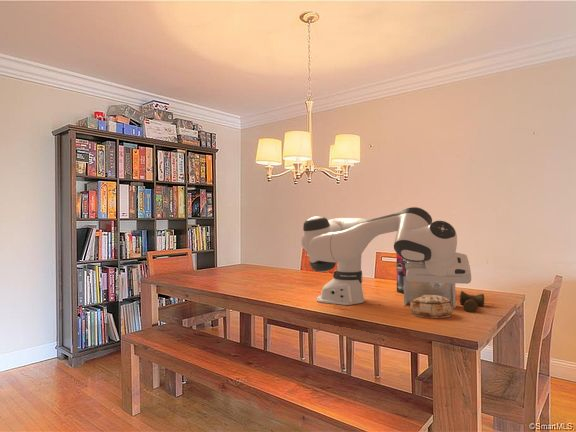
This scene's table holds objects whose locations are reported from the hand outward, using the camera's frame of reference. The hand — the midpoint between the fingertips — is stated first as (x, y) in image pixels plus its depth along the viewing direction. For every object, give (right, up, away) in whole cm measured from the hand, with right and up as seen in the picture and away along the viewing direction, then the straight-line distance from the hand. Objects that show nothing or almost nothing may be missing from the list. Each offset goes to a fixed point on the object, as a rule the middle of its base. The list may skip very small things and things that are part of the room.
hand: (436, 286), depth 128 cm
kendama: (+28, -15, +32) cm, 45 cm away
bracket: (+11, -15, +36) cm, 40 cm away
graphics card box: (+11, -15, +58) cm, 61 cm away
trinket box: (+6, -16, +20) cm, 26 cm away
